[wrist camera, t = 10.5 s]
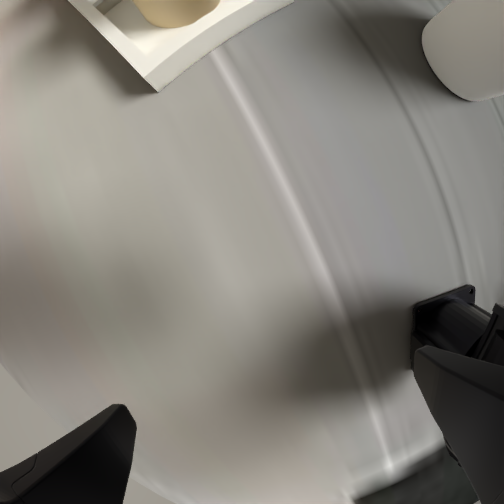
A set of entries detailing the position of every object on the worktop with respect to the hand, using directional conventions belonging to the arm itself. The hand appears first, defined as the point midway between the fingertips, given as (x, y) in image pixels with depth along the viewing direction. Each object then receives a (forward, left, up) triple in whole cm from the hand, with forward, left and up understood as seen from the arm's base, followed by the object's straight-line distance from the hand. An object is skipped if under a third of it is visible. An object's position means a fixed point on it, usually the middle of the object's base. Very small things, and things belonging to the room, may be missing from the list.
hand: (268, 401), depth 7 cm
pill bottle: (-20, -14, -12) cm, 27 cm away
